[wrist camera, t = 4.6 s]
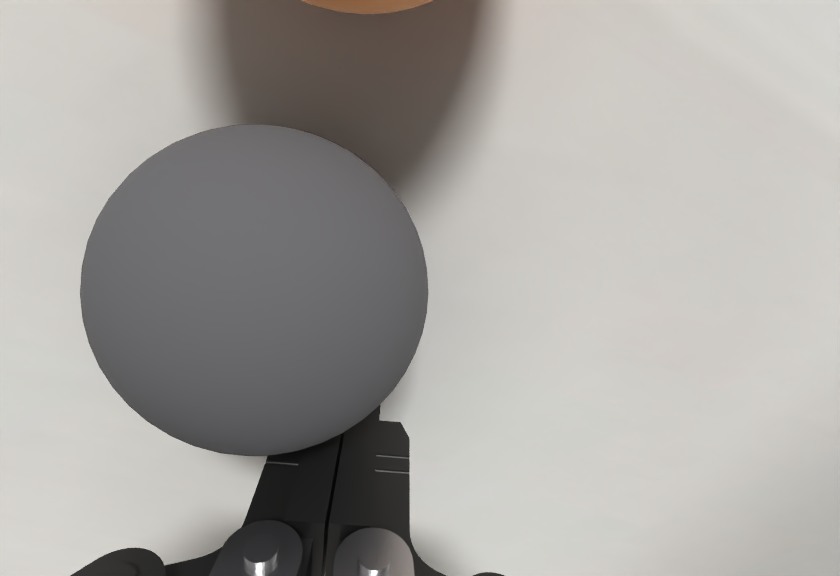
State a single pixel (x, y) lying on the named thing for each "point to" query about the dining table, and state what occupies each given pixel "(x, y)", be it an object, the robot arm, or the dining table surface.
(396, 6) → the orange ball
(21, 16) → the dining table surface
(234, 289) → the gray ball
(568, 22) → the dining table surface
